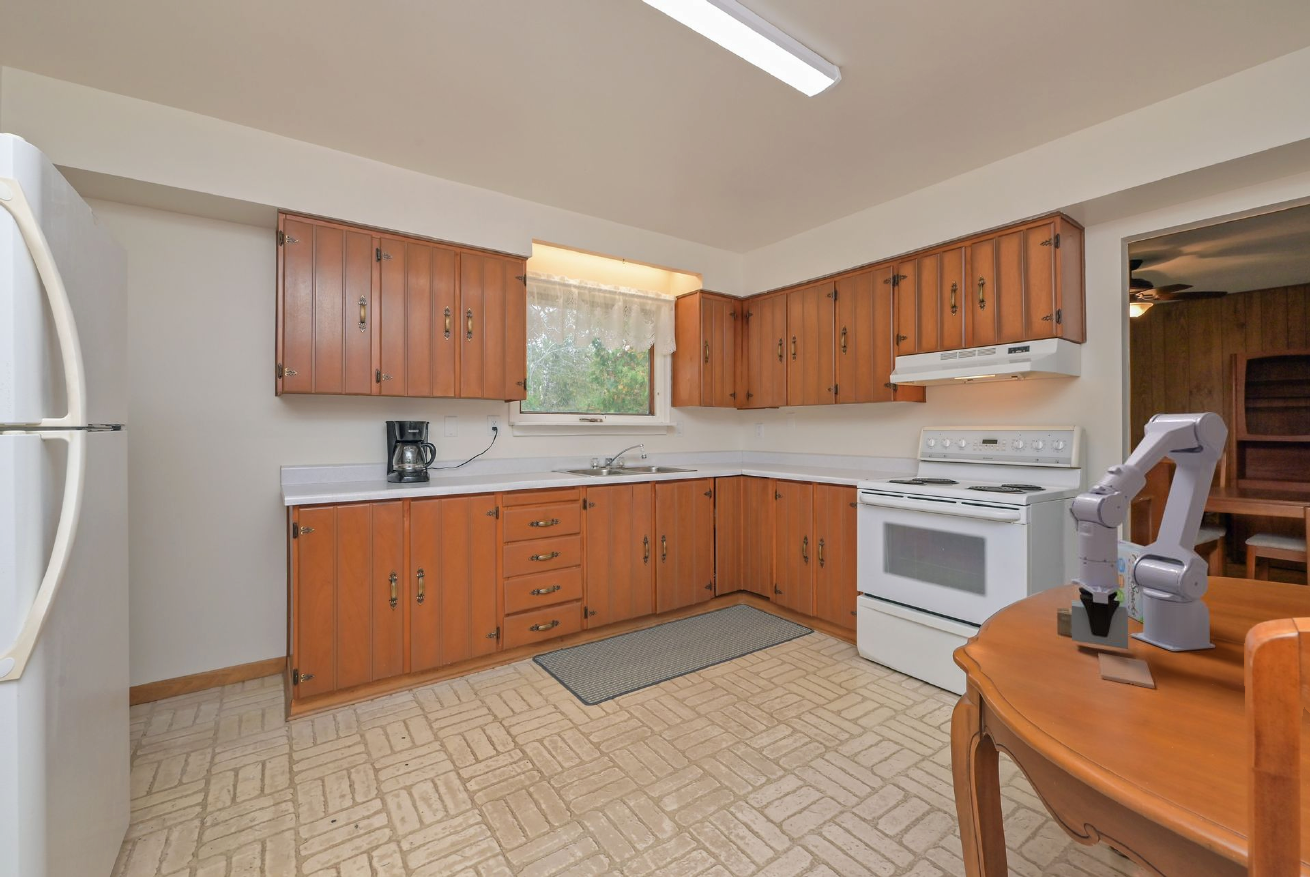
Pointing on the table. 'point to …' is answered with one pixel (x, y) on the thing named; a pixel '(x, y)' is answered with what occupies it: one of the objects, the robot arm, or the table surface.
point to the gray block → (1114, 639)
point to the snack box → (1129, 580)
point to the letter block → (1064, 621)
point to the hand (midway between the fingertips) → (1098, 631)
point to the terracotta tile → (1125, 670)
